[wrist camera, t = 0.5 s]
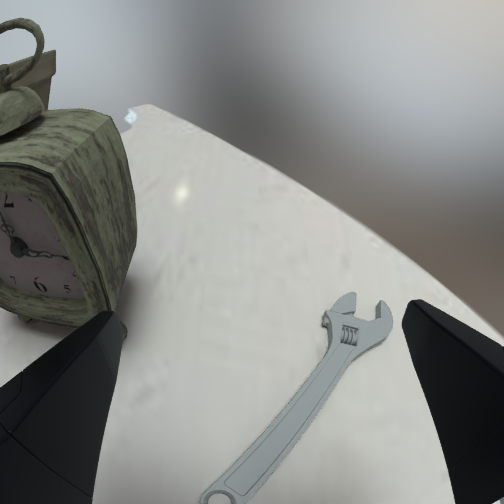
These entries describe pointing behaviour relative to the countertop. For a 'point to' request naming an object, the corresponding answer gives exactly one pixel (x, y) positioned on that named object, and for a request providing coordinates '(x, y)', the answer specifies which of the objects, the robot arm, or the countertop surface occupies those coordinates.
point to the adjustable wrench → (305, 398)
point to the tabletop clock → (60, 205)
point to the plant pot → (37, 75)
